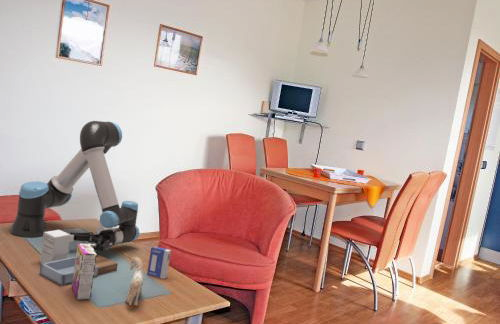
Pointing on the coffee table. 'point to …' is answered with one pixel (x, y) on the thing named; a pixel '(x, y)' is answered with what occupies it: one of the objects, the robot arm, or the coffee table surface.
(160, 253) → the walkman
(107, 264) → the walnut board
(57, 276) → the tray
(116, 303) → the coffee table surface
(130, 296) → the unicorn figurine
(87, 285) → the candy bar box
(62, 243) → the supplement box
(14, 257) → the coffee table surface
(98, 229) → the die
